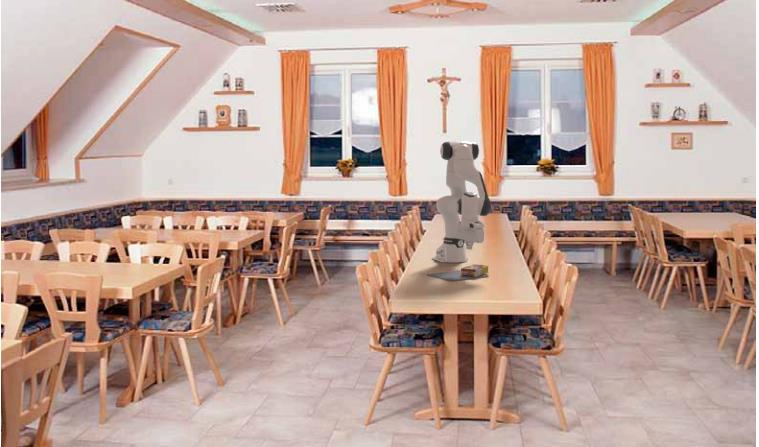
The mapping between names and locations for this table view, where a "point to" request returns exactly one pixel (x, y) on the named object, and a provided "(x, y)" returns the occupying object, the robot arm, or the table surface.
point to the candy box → (474, 270)
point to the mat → (454, 276)
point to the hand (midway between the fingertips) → (469, 249)
